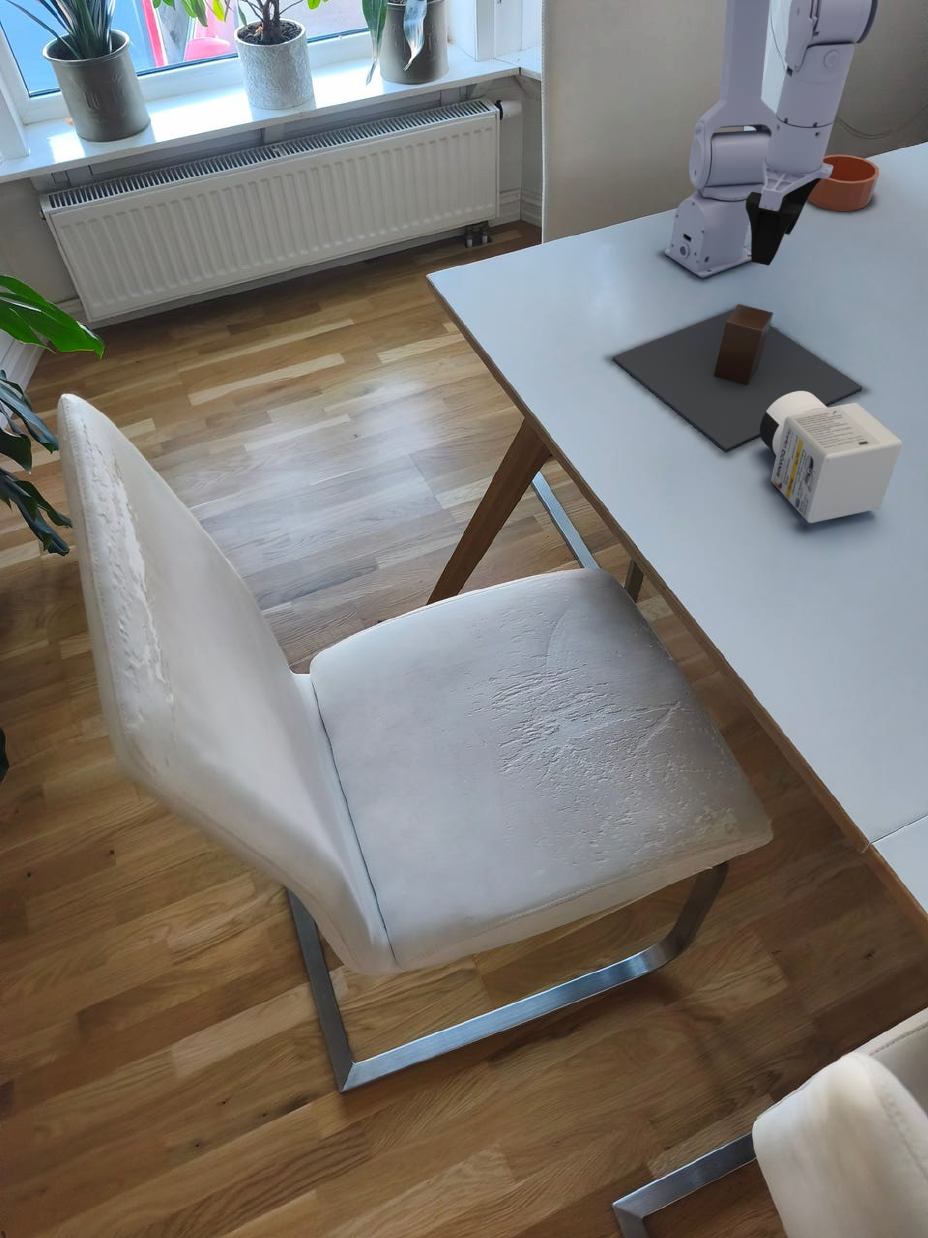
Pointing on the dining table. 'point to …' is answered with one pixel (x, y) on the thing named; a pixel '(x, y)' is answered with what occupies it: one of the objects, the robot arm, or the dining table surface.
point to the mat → (721, 405)
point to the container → (828, 456)
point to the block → (742, 344)
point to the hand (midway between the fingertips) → (771, 246)
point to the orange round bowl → (845, 184)
